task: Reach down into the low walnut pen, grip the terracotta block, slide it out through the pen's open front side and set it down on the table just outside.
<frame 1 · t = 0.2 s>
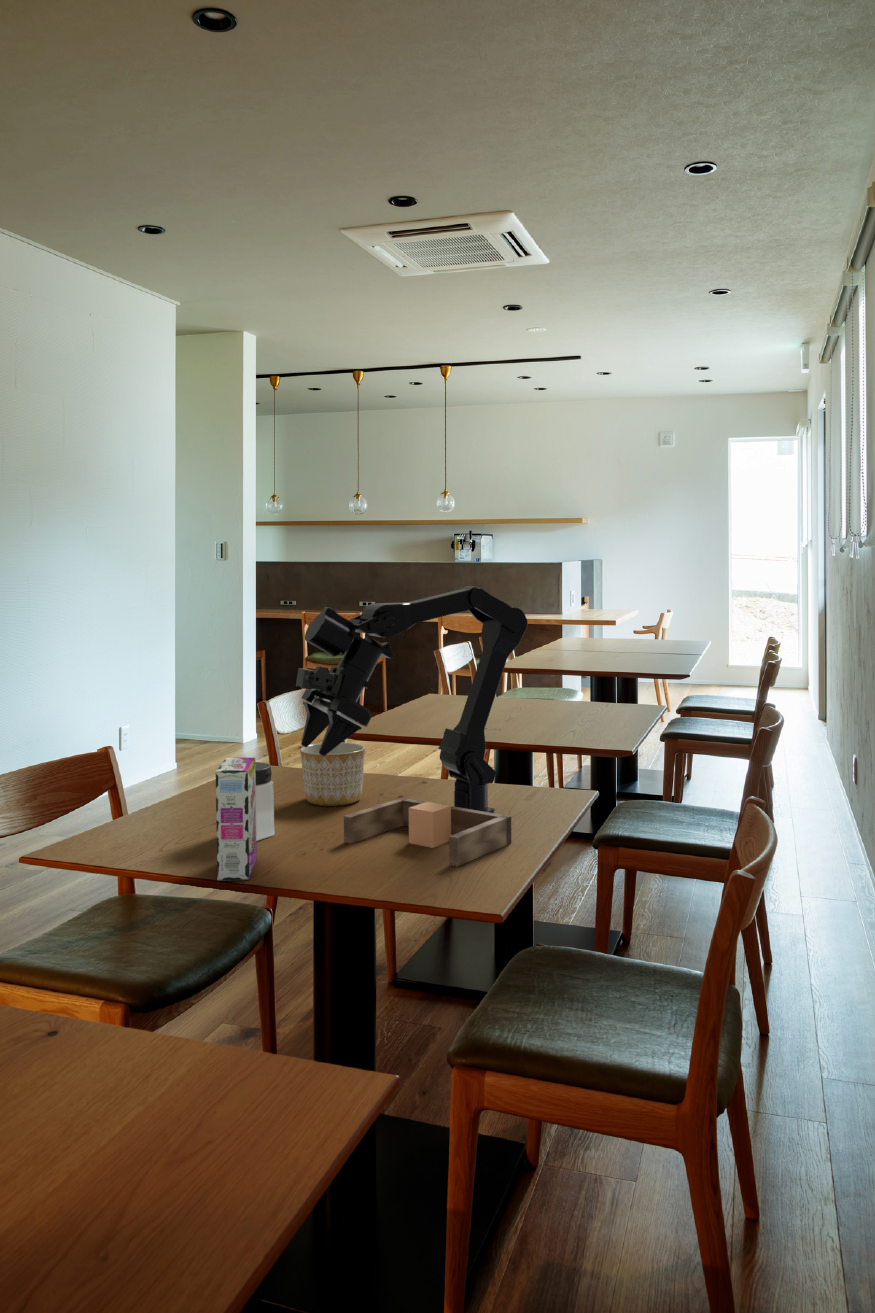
hand: (312, 750, 164), 15 cm above the table, tool tilted 30°, fingers open, 9 cm apart
planter: (333, 801, 190), on the table
terracotta block: (430, 842, 160), on the table
walnut pen: (424, 843, 159), on the table
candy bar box: (238, 871, 146), on the table
jar: (248, 836, 165), on the table
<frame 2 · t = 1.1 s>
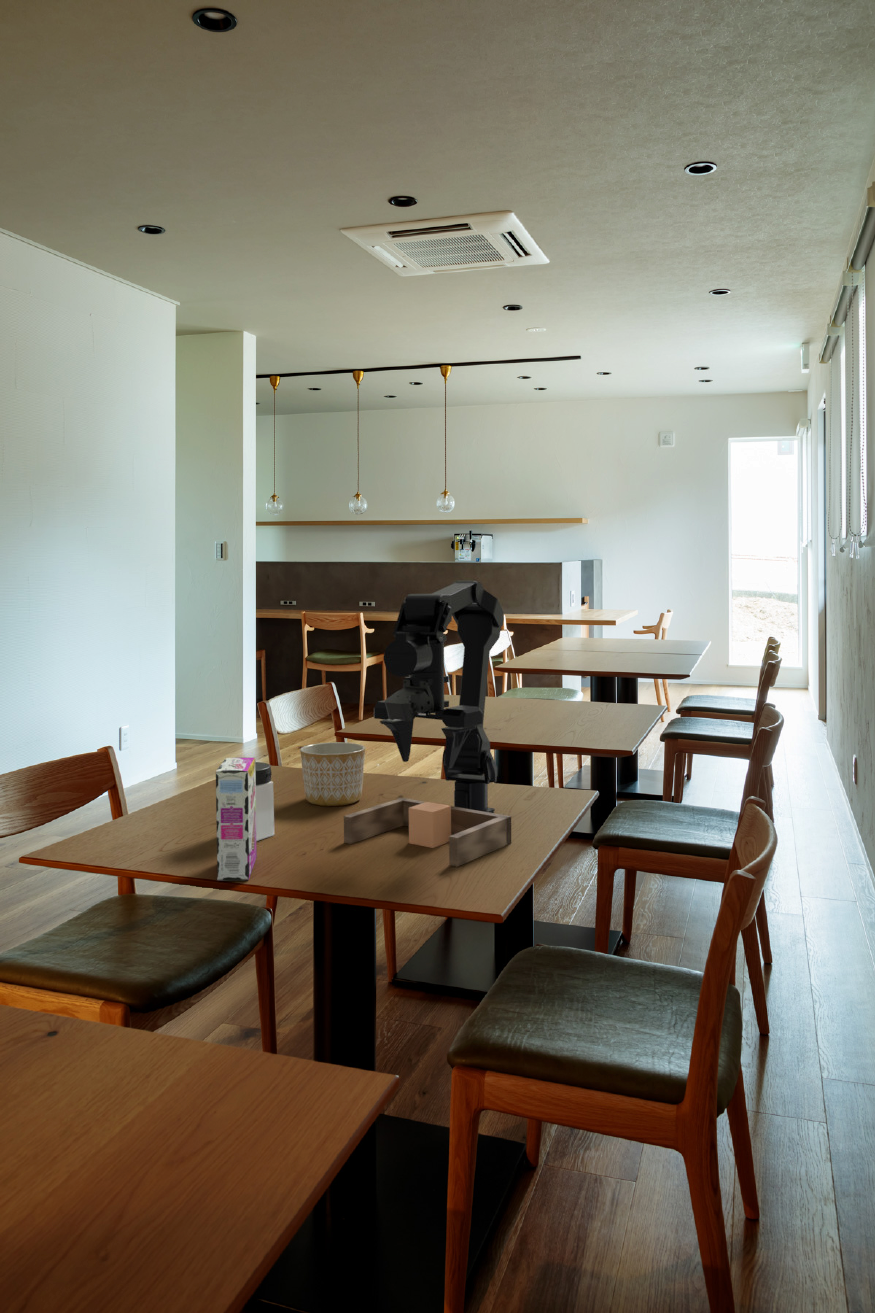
hand: (427, 764, 159), 13 cm above the table, tool pointing down, fingers open, 9 cm apart
nothing on the table moved.
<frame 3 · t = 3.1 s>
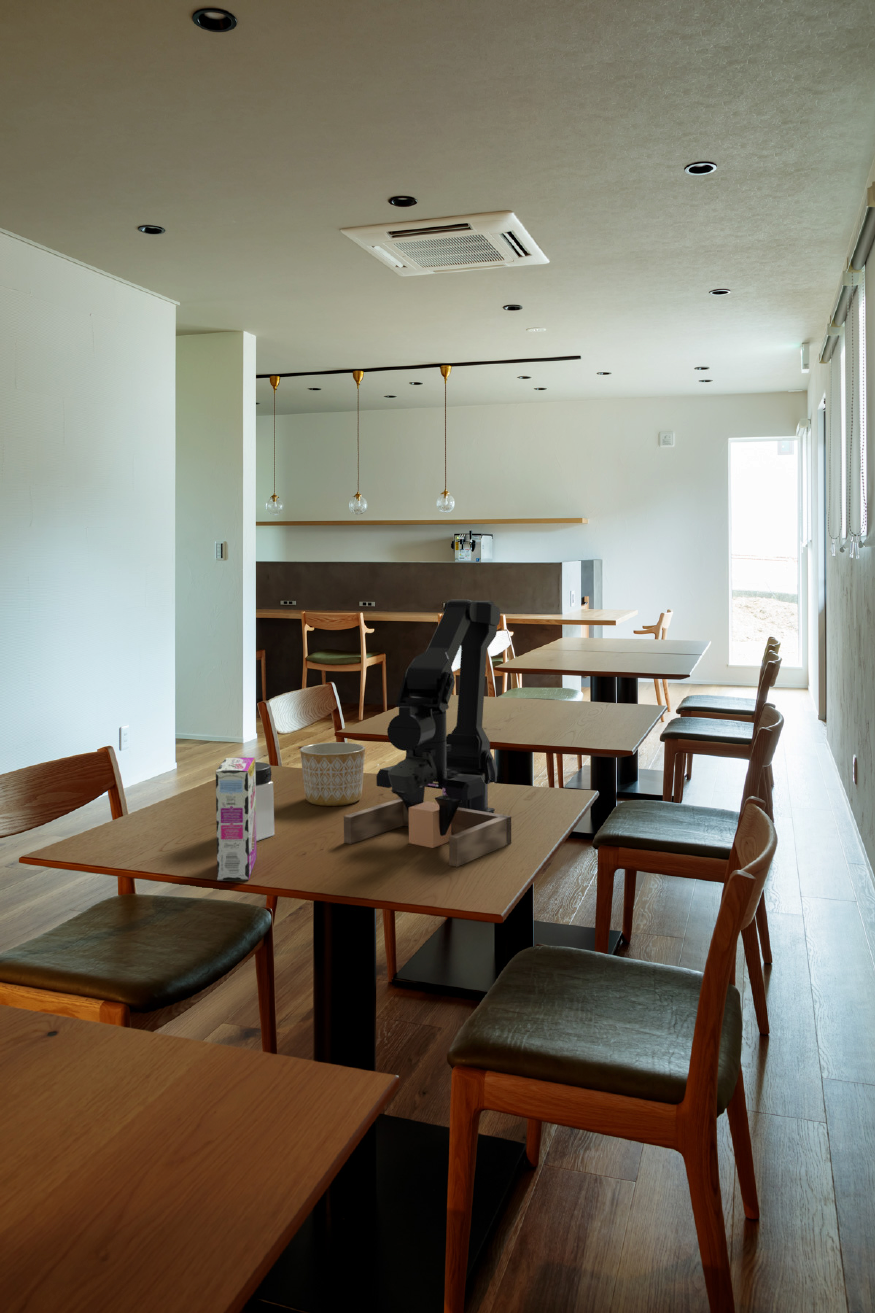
hand: (430, 832, 160), 2 cm above the table, tool pointing down, fingers closed on terracotta block, 5 cm apart
terracotta block: (430, 842, 160), on the table, touching gripper
everything else where it was.
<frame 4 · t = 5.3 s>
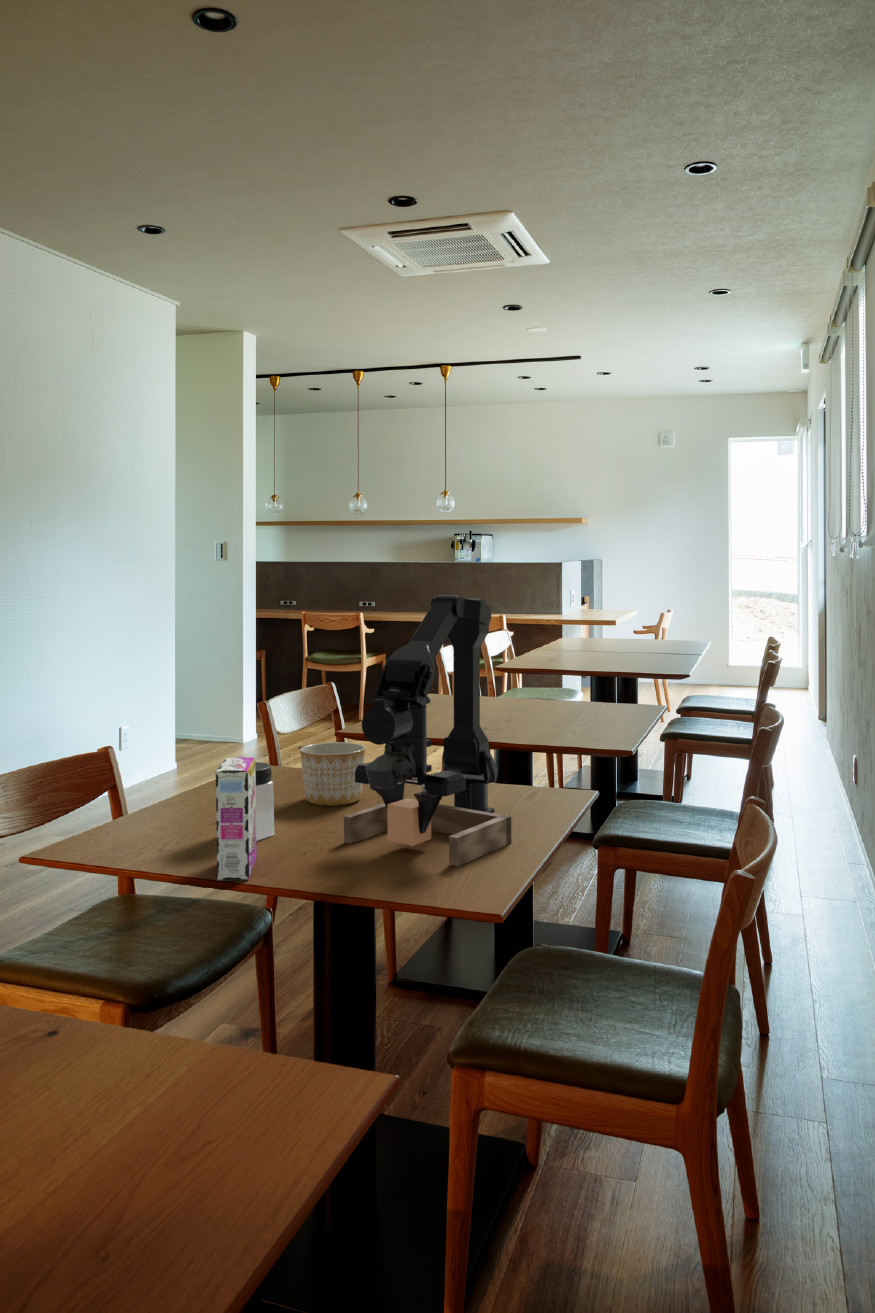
hand: (409, 830, 156), 3 cm above the table, tool pointing down, fingers closed on terracotta block, 5 cm apart
terracotta block: (409, 839, 156), point 2 cm above the table, touching gripper
everything else where it was.
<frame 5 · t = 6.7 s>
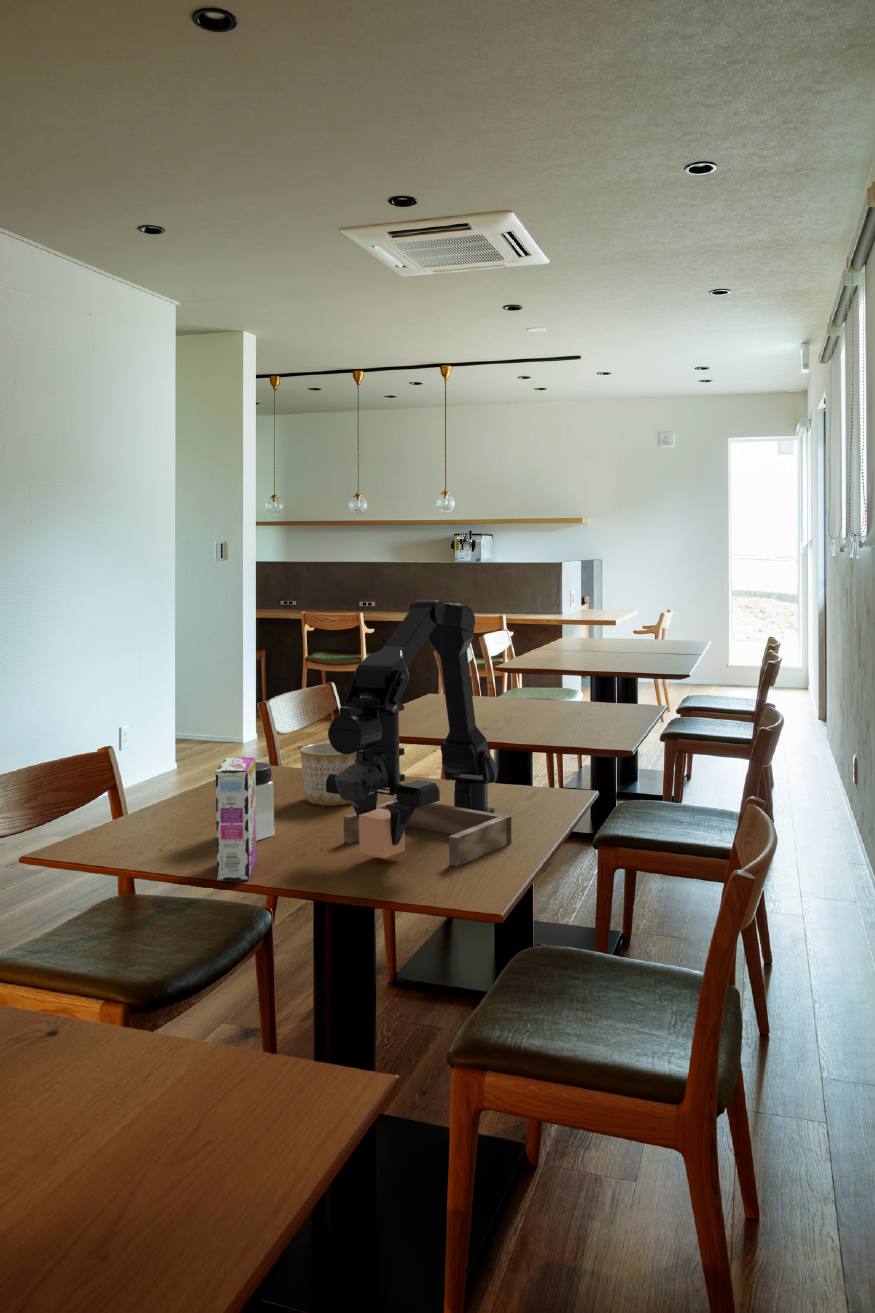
hand: (382, 842, 150), 3 cm above the table, tool pointing down, fingers closed on terracotta block, 5 cm apart
terracotta block: (382, 851, 150), point 1 cm above the table, touching gripper
everything else where it was.
when the fingers open (2 cm above the table, at t = 7.7 s): terracotta block stays where it is, on the table.
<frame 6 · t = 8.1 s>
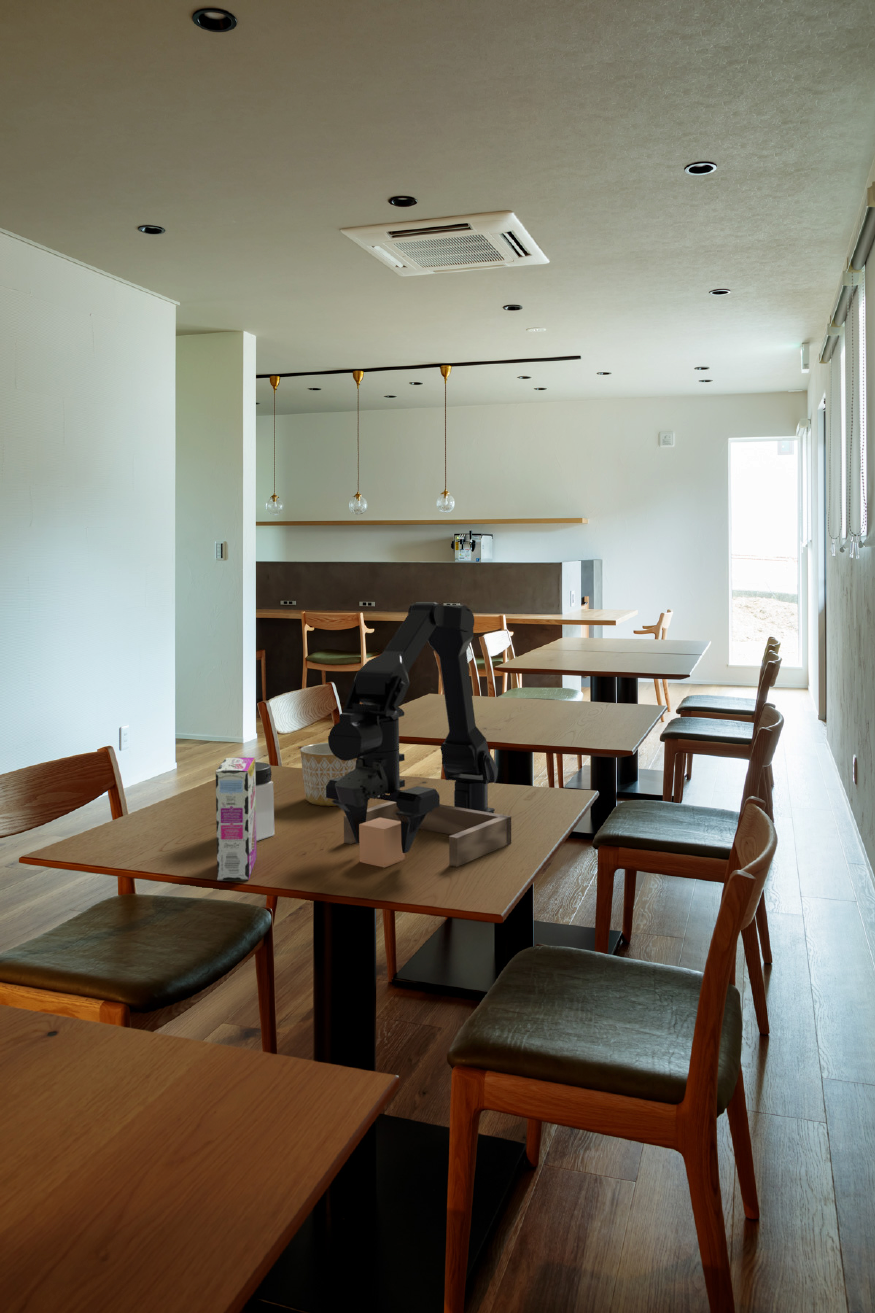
hand: (382, 847, 150), 2 cm above the table, tool pointing down, fingers open, 9 cm apart
terracotta block: (382, 861, 150), on the table
everything else where it was.
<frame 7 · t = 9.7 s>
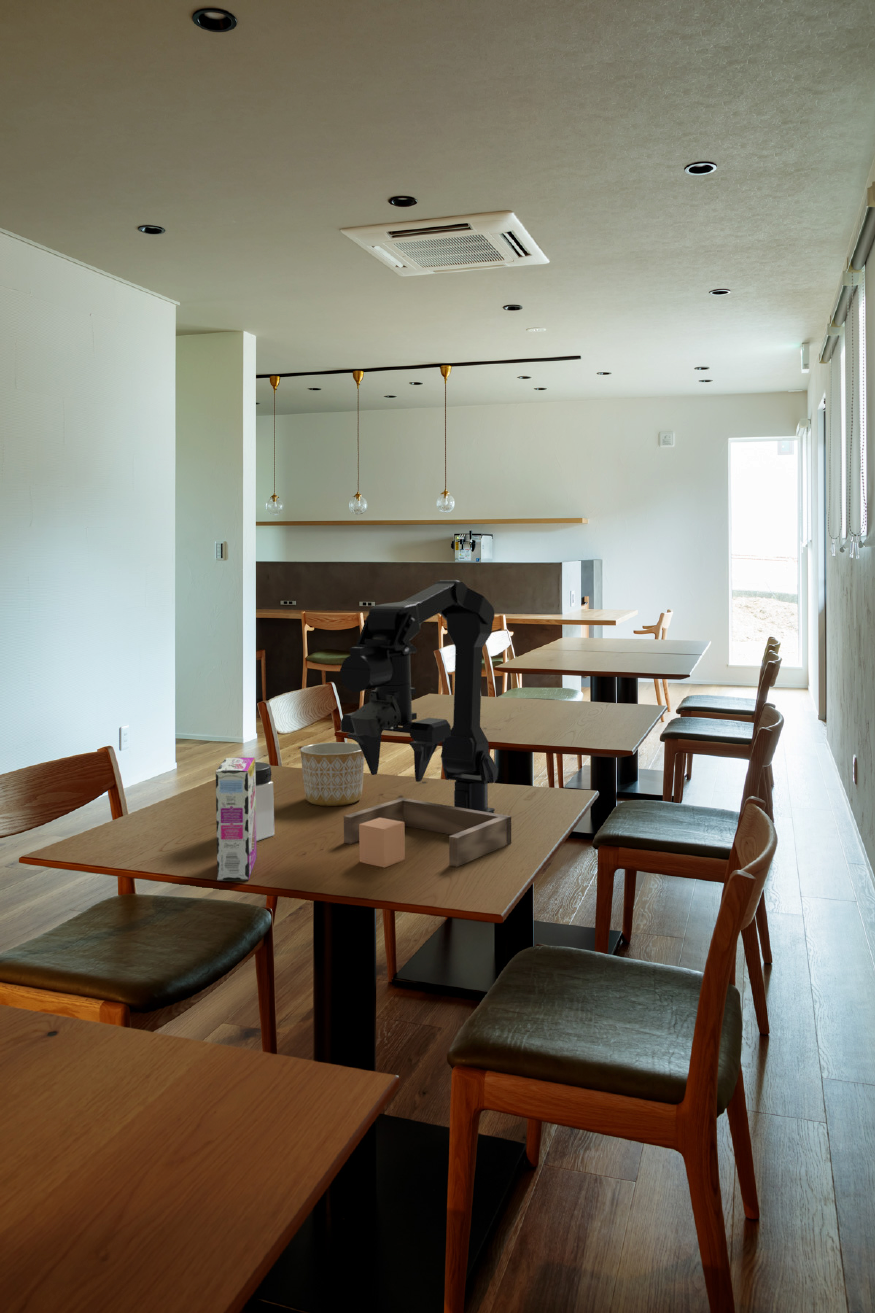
hand: (396, 778, 157), 11 cm above the table, tool pointing down, fingers open, 9 cm apart
nothing on the table moved.
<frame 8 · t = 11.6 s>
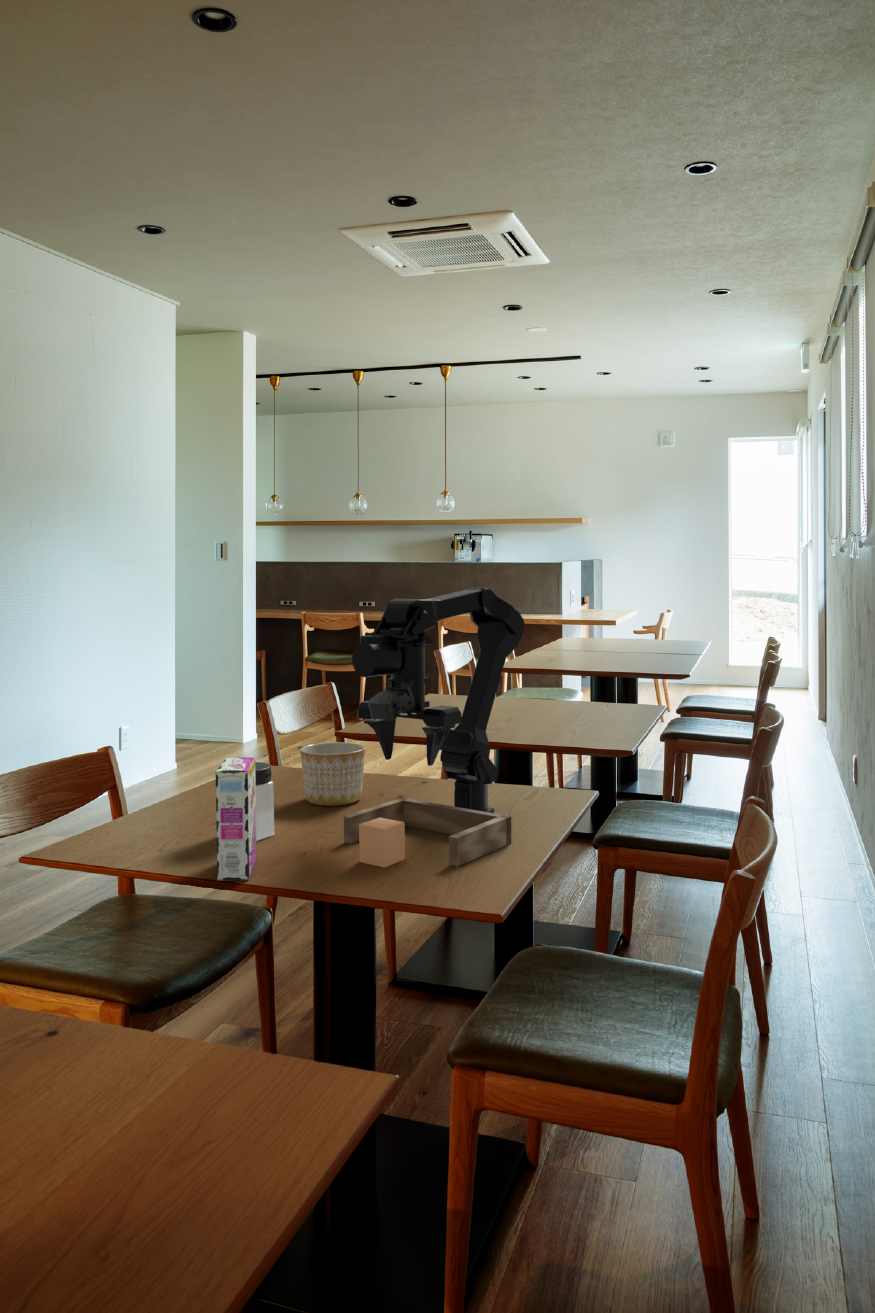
hand: (409, 762, 166), 12 cm above the table, tool pointing down, fingers open, 9 cm apart
nothing on the table moved.
at the end: terracotta block inside the target area on the table beside the walnut pen (1.8 cm from its centre), on the table; terracotta block tilted 0°; the gripper is holding nothing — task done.
